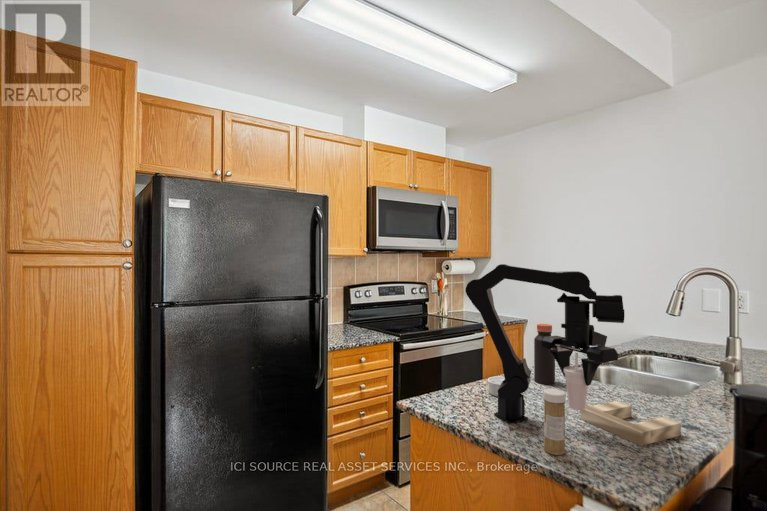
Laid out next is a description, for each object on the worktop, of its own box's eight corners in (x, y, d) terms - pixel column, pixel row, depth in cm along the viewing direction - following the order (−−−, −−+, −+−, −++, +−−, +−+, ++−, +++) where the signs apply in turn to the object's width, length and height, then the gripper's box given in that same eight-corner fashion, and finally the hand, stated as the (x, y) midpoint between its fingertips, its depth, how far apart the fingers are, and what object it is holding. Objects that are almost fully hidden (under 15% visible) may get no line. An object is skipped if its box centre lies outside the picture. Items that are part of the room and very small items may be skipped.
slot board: (641, 445, 93) (641, 432, 93) (580, 419, 108) (580, 408, 108) (680, 435, 98) (680, 423, 98) (617, 411, 114) (617, 400, 114)
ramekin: (486, 396, 126) (486, 382, 126) (488, 388, 135) (488, 375, 135) (516, 399, 124) (516, 385, 124) (516, 390, 132) (516, 377, 132)
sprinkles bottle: (548, 444, 93) (548, 386, 94) (568, 451, 90) (568, 391, 90) (540, 451, 90) (540, 391, 90) (561, 458, 87) (561, 396, 87)
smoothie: (558, 407, 103) (559, 352, 103) (568, 400, 107) (569, 348, 107) (585, 414, 98) (586, 357, 98) (594, 407, 103) (595, 352, 103)
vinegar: (557, 385, 138) (557, 326, 138) (536, 384, 139) (536, 326, 139) (552, 379, 144) (552, 323, 144) (532, 378, 145) (532, 323, 146)
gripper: (633, 324, 97) (633, 388, 97) (570, 314, 114) (570, 369, 114) (601, 326, 93) (601, 394, 93) (540, 316, 110) (540, 373, 110)
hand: (577, 381), depth 103 cm, fingers closed on smoothie, 6 cm apart
